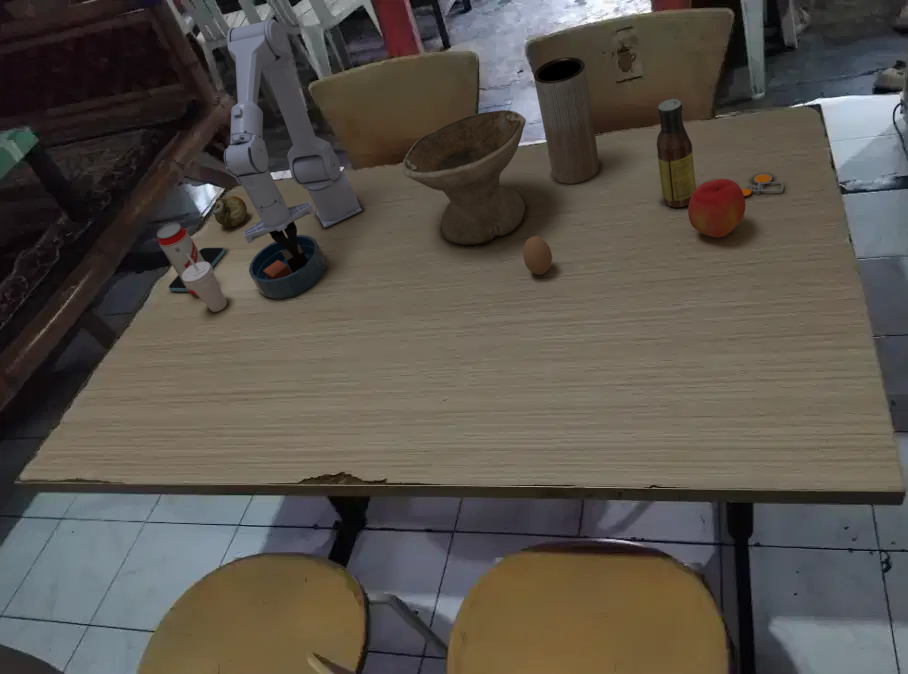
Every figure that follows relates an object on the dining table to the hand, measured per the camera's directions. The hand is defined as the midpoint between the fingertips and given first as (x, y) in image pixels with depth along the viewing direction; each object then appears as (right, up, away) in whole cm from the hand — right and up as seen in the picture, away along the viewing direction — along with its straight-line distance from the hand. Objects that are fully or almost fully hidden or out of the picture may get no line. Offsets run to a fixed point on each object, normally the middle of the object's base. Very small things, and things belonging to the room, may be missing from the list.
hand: (296, 254), depth 152 cm
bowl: (+39, +8, +2) cm, 40 cm away
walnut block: (-1, -1, +6) cm, 7 cm away
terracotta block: (-4, -5, +4) cm, 7 cm away
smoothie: (-18, -10, +5) cm, 21 cm away
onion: (-21, +12, +28) cm, 37 cm away
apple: (+81, +1, -20) cm, 83 cm away
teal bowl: (-2, -4, +6) cm, 7 cm away
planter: (+59, +19, +6) cm, 62 cm away
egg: (+49, -6, -15) cm, 52 cm away
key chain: (+89, +10, -13) cm, 90 cm away
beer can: (-23, -6, +11) cm, 26 cm away
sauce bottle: (+76, +9, -10) cm, 78 cm away
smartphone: (-26, -1, +17) cm, 31 cm away
